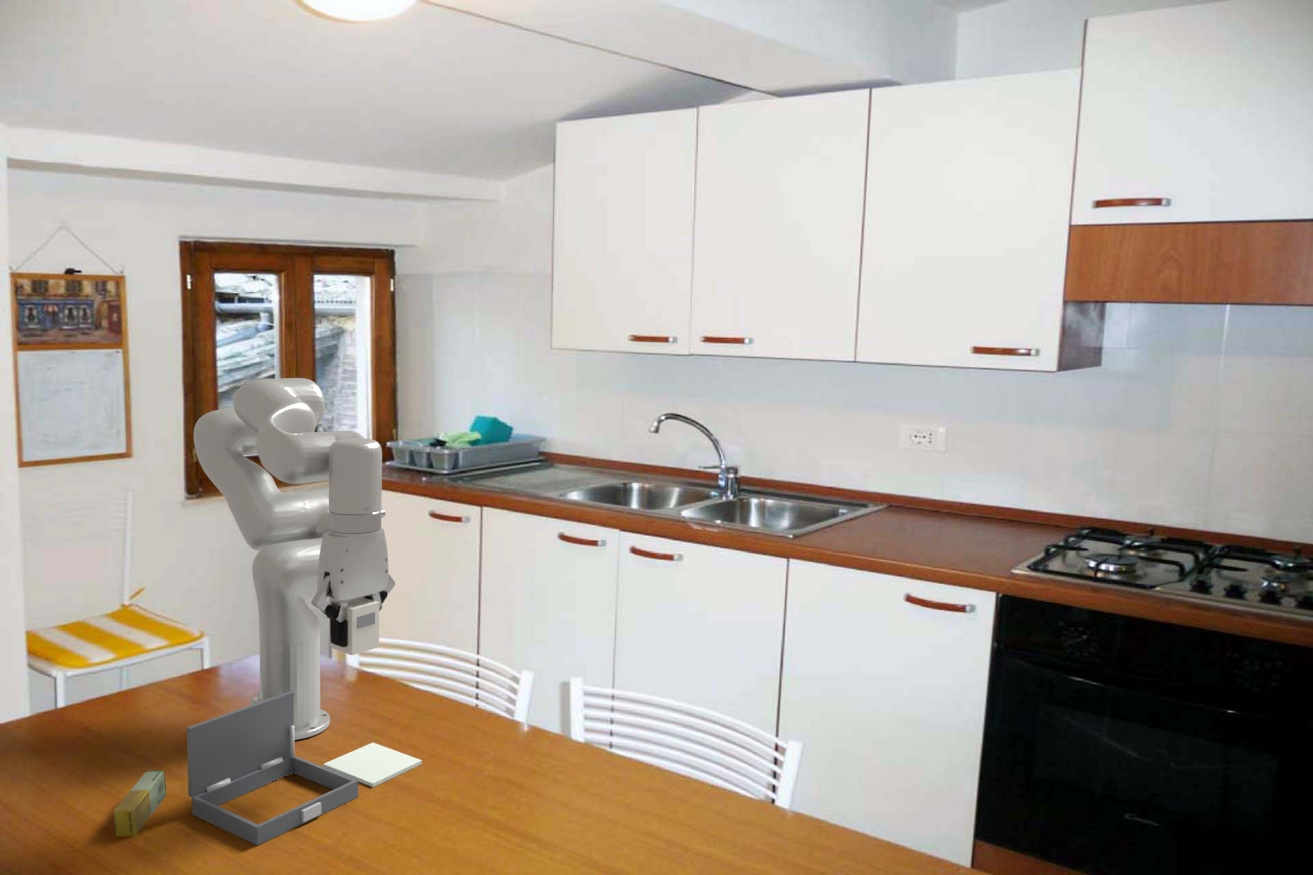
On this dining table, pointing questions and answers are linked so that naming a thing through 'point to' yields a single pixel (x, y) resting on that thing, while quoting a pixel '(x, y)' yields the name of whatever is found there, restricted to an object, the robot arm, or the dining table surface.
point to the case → (255, 768)
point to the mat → (373, 764)
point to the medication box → (140, 803)
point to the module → (361, 626)
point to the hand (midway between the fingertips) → (354, 638)
